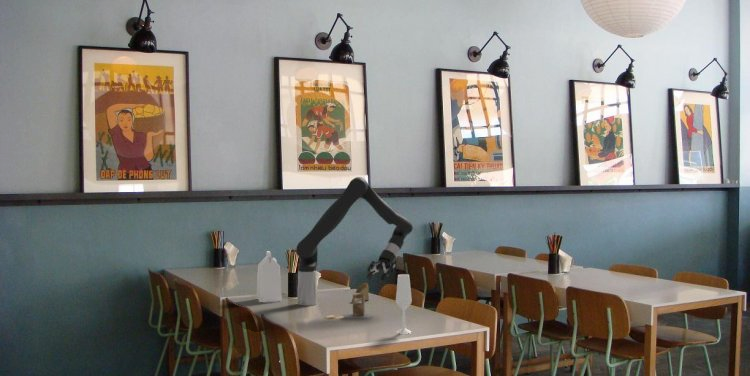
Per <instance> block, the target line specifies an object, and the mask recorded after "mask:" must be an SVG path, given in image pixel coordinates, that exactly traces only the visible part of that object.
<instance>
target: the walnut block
mask: <svg viewBox="0 0 750 376" xmlns="http://www.w3.org/2000/svg"><path fill="white" fill-rule="evenodd" d="M352 299H353V302H352V313H353V316H364V314H365V313H366V311H365V309H366V307H365V306H366V305H365V303H366V301H365V293H355V292H353V294H352Z"/></svg>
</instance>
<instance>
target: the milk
mask: <svg viewBox="0 0 750 376" xmlns="http://www.w3.org/2000/svg"><path fill="white" fill-rule="evenodd" d="M256 276H257V278H256V279H257V280H256V300H257V299H258V300H259V301H258V300H257V301H258V303H260V302H263V303H276V302H277V303H278V301H280V302H283V301H282V300H283V299H282V298H283V297H282V281H281V280H282V277H281V266H280V264H279V263H278V260H277V259H276V258H275V257H273V256H272V252H271V251H269V250H267V251H266V256H264V258H263V259H262V260H261V261H260V262H259V263H258V265H257V275H256Z"/></svg>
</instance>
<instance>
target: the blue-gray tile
mask: <svg viewBox="0 0 750 376" xmlns="http://www.w3.org/2000/svg"><path fill="white" fill-rule="evenodd" d="M372 316H373V312H365V314H364V316H353V312H347V313H346V314H345V316H344V318H355V319H356V318H357V319H358V318H362V319H364V318H366V319H369V318H370V319H371V317H372Z"/></svg>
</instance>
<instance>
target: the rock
mask: <svg viewBox="0 0 750 376" xmlns="http://www.w3.org/2000/svg"><path fill="white" fill-rule="evenodd" d="M369 290H370V289H369V283H368V282H362V283H360V284H359V285H357V289H356V291H355V292H354V293H365V302H367V301H366V300H368V301H369V300H370V298H369ZM351 302H352V303H353V298H352V300H351Z"/></svg>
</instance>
